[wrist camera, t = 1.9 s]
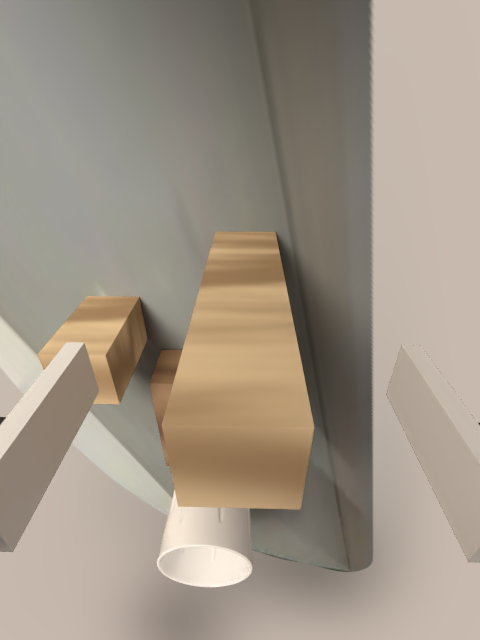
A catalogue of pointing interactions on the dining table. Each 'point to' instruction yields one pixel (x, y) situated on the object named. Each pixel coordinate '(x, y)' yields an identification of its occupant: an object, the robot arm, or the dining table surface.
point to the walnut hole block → (163, 387)
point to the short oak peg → (104, 341)
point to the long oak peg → (240, 386)
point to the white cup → (206, 545)
